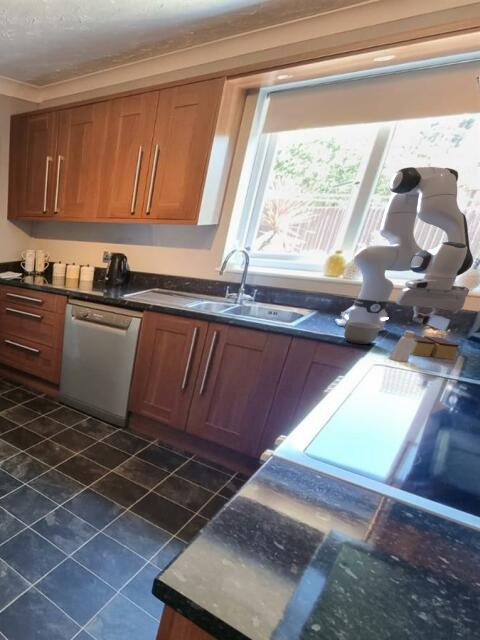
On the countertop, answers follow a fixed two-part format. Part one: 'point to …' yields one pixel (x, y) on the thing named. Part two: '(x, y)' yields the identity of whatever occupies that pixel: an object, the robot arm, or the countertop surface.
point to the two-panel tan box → (433, 347)
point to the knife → (433, 321)
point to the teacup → (360, 332)
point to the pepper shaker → (403, 347)
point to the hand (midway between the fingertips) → (422, 318)
